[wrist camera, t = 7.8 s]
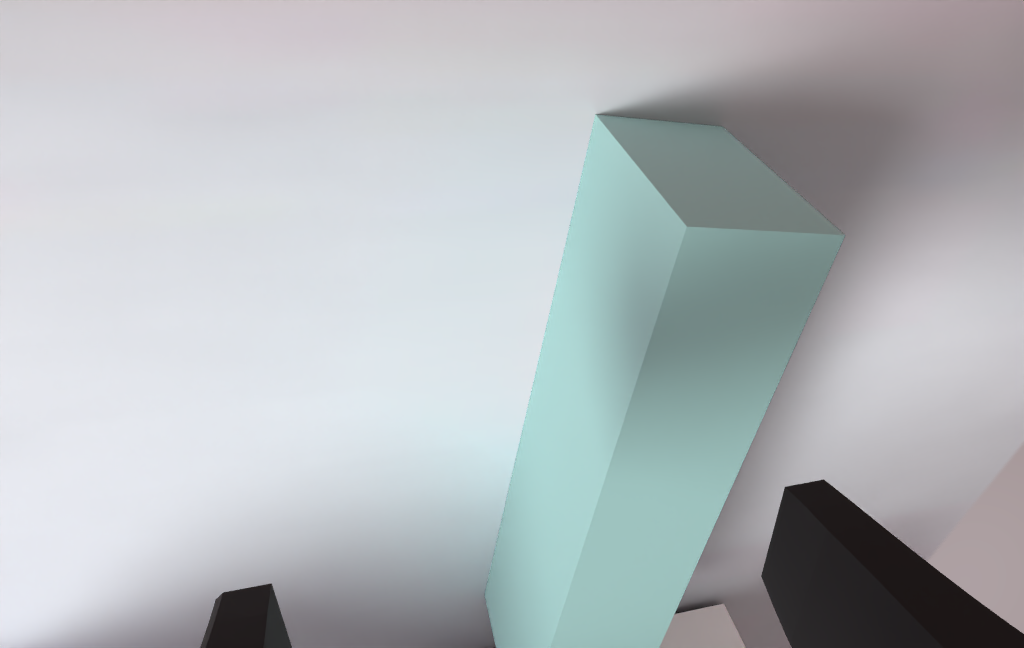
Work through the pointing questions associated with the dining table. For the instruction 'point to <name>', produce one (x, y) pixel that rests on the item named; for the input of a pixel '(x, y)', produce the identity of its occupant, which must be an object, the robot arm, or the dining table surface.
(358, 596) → the dining table surface
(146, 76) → the dining table surface
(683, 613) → the white box
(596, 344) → the mint green rectangular block
